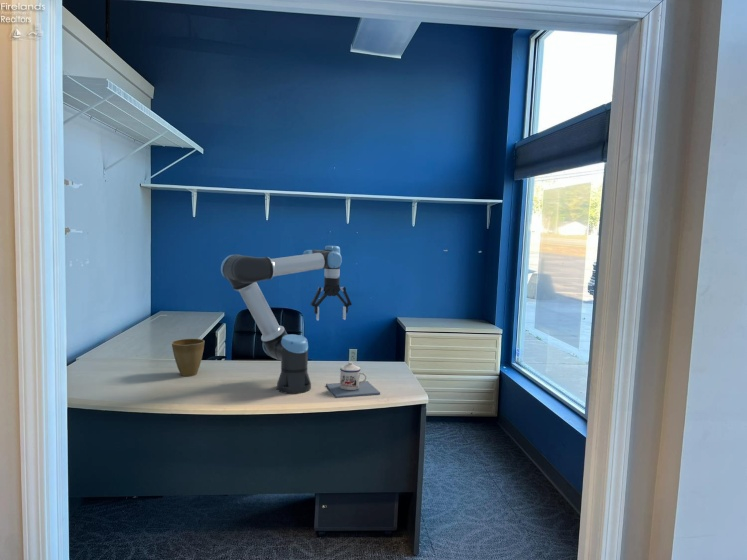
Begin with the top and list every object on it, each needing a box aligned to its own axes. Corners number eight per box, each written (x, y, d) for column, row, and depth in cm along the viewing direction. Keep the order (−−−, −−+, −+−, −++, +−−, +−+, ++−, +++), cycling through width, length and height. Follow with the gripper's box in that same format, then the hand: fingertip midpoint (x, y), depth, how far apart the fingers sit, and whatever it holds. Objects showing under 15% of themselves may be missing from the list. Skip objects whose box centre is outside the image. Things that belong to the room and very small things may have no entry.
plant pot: (205, 369, 263) (205, 337, 261) (203, 377, 248) (203, 344, 247) (173, 370, 259) (173, 338, 258) (169, 379, 245) (169, 345, 243)
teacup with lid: (337, 389, 233) (338, 364, 232) (341, 384, 242) (342, 359, 241) (364, 391, 232) (365, 365, 231) (367, 386, 241) (368, 360, 240)
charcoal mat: (336, 397, 225) (336, 395, 225) (326, 385, 242) (326, 383, 242) (380, 394, 231) (380, 392, 231) (367, 382, 248) (367, 381, 248)
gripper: (354, 276, 267) (352, 317, 269) (305, 276, 259) (304, 319, 261) (358, 277, 260) (357, 320, 262) (308, 278, 252) (307, 321, 254)
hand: (331, 319), depth 261 cm, fingers open, 13 cm apart
